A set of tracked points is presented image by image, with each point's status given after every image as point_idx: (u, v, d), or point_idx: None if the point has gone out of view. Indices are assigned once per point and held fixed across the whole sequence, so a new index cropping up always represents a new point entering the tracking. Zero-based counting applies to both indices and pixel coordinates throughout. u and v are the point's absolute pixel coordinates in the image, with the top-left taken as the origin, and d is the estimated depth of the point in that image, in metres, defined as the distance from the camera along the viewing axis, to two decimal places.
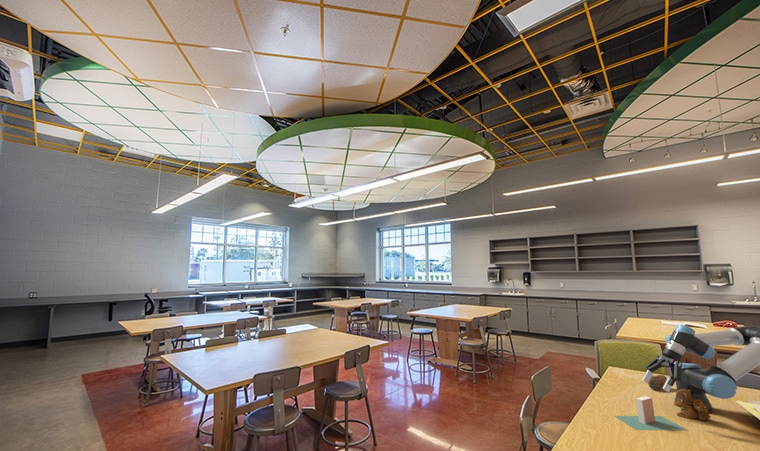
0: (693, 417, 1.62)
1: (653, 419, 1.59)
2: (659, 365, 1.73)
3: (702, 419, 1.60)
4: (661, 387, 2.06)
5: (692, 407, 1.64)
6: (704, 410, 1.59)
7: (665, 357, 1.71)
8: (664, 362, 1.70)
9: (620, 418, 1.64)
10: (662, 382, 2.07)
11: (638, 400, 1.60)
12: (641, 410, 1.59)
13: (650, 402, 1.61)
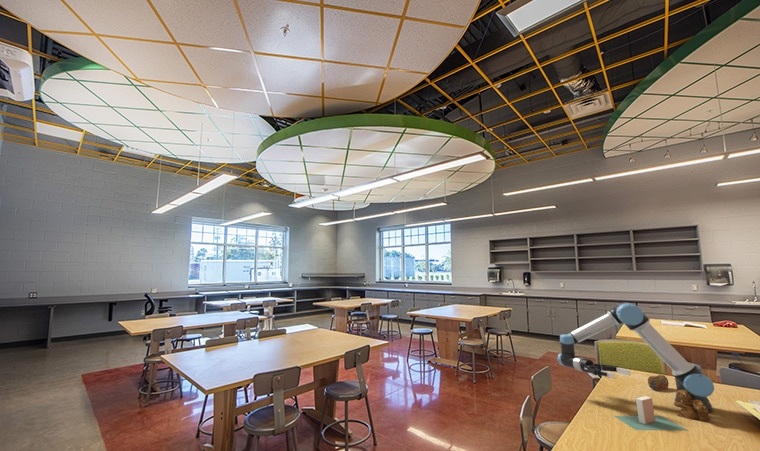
0: (693, 417, 1.62)
1: (653, 419, 1.59)
2: (604, 368, 1.83)
3: (702, 419, 1.60)
4: (661, 387, 2.06)
5: (692, 407, 1.64)
6: (704, 410, 1.59)
7: None
8: None
9: (620, 418, 1.64)
10: (662, 382, 2.07)
11: (638, 400, 1.60)
12: (641, 410, 1.59)
13: (650, 402, 1.61)
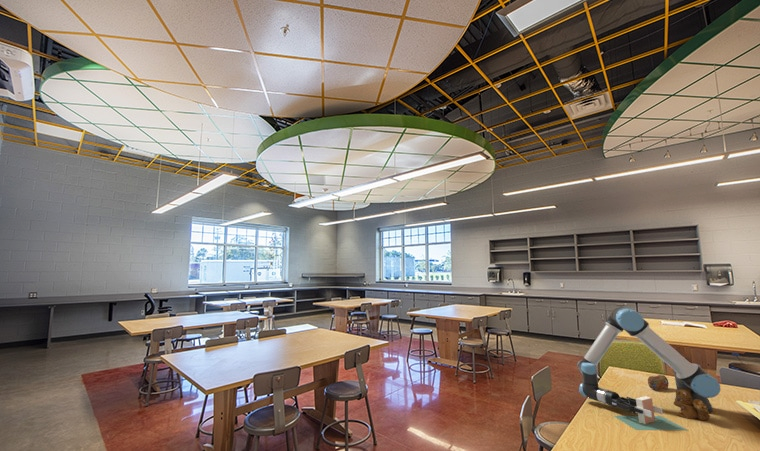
0: (693, 417, 1.63)
1: (653, 419, 1.59)
2: (631, 403, 1.68)
3: (702, 419, 1.61)
4: (661, 387, 2.06)
5: (692, 407, 1.64)
6: (704, 410, 1.59)
7: None
8: None
9: (620, 418, 1.64)
10: (662, 382, 2.07)
11: (638, 400, 1.60)
12: None
13: (650, 402, 1.61)
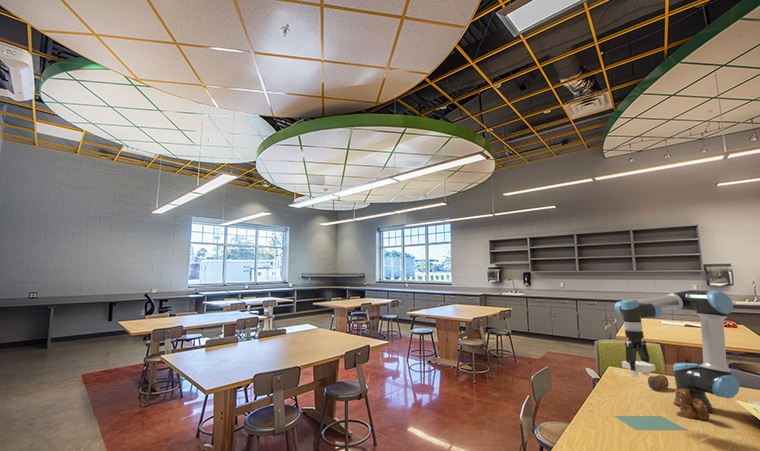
0: (693, 416, 1.63)
1: None
2: (639, 349, 1.66)
3: (702, 418, 1.61)
4: (661, 387, 2.06)
5: (692, 406, 1.64)
6: (704, 409, 1.59)
7: None
8: None
9: (620, 418, 1.64)
10: (662, 382, 2.07)
11: (644, 368, 1.58)
12: None
13: None
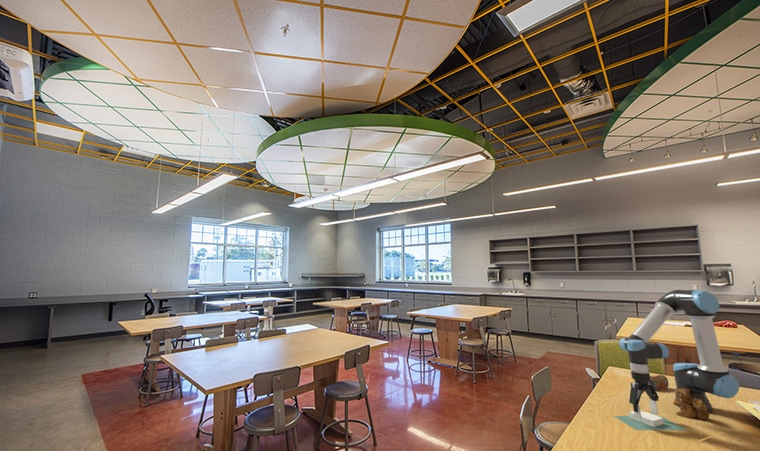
0: (693, 416, 1.63)
1: None
2: None
3: (701, 418, 1.61)
4: (661, 387, 2.06)
5: (691, 406, 1.65)
6: (704, 409, 1.60)
7: None
8: None
9: (620, 418, 1.64)
10: (662, 382, 2.07)
11: (652, 422, 1.54)
12: (642, 421, 1.58)
13: None
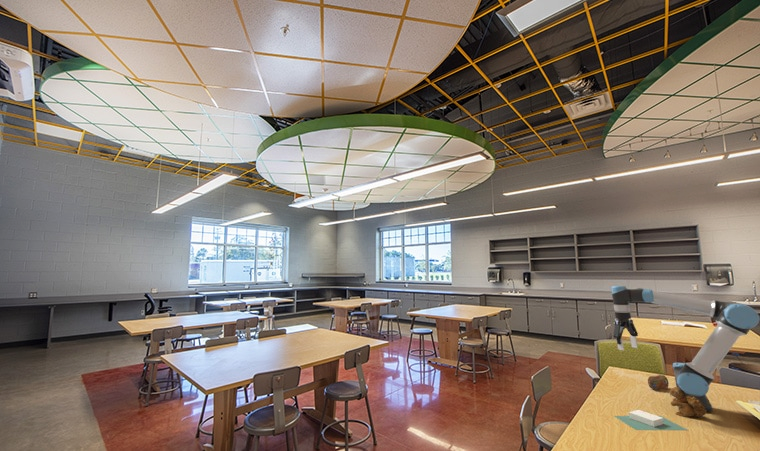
0: (691, 414, 1.64)
1: None
2: (627, 328, 1.91)
3: (699, 414, 1.62)
4: (661, 387, 2.06)
5: (687, 404, 1.66)
6: (698, 404, 1.61)
7: None
8: None
9: (620, 418, 1.64)
10: (662, 382, 2.07)
11: (652, 422, 1.54)
12: (642, 421, 1.58)
13: None
